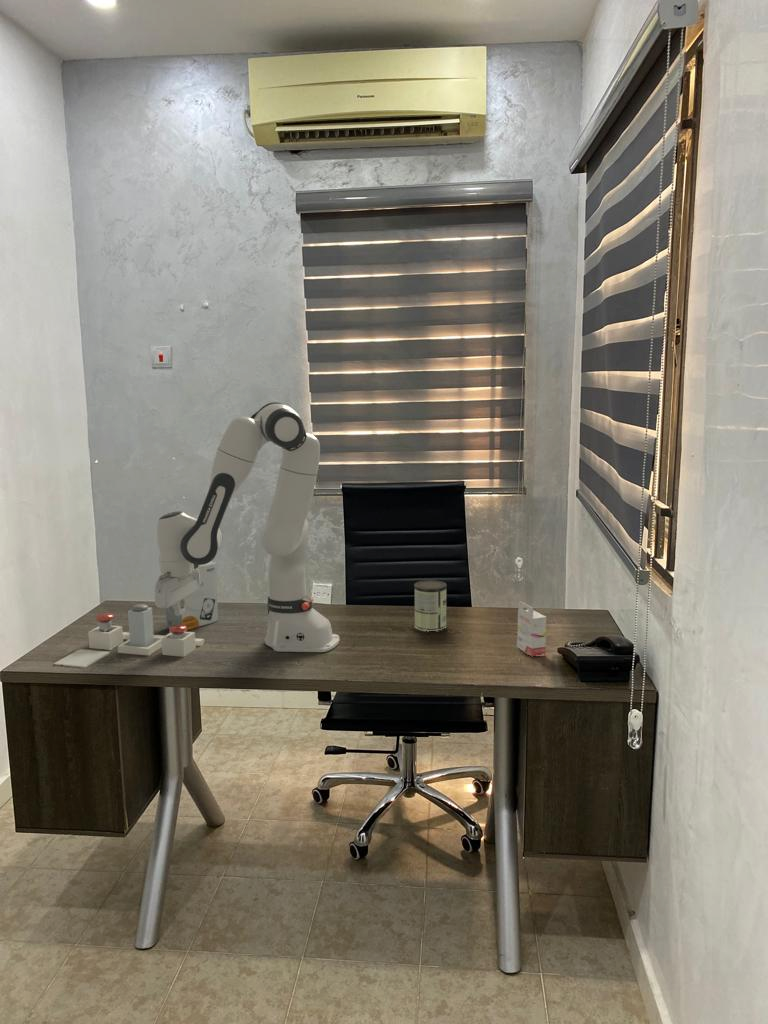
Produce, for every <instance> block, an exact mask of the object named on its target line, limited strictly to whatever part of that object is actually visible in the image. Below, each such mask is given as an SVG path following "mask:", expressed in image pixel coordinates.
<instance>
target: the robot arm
mask: <svg viewBox="0 0 768 1024" xmlns="http://www.w3.org/2000/svg"><path fill="white" fill-rule="evenodd" d="M269 442H272V443H273V444H274V445H276V446H278V447H280V448H281V451H282V453H281V454H282V455H281V461H280V465H279V469H278V470H279V471H278V474H277V480H276V483H275V484H276V486H275V489H274V494H273V497H272V500H271V503H270V507H269V510H268V513H267V517H266V519H265V520H266V521H265V524H264V527H263V530H262V533H261V534H262V535H261V537H260V539H261V540H260V541H261V546H262V548H263V549H264V551H265V552H266V554H268V555H270V560H269V567H268V570H267V571H268V572H267V575H268V576H267V577H268V596H267V614H268V624H267V631H266V635H265V639H264V643H265V645H267V646H268V647H269V648H272V649H273V651H274V652H282V653H283V652H287V653H289V652H293V653H295V652H296V653H326V652H329V651H331V650H333V649H335V648H336V647H337V646H338V645H339V643H340V636H339V634H335V633H333V629H332V626H331V622H330V620H329V619H328V618H326V617H325V616H324V615H322V614H321V613H320V612H319V611H317V610H316V609H314V608H313V602H314V597H311V598H310V597H309V596H308V595H307V587H306V586H307V584H306V577H307V576H306V575H307V574H306V567H307V557H308V545H309V544H308V543H309V542H308V541H309V530H310V528H309V527H310V526H309V522H308V519H307V516H308V513H309V509H310V506H311V504H312V501H313V496H314V492H315V487H316V482H317V477H318V471H319V466H320V460H321V459H320V458H321V457H320V456H321V444H320V441H319V439H318V438H317V437H316V436H315V435H314V434H312V433H309V432H307V431H306V428H305V426H304V422H303V420H302V418H301V416H300V415H299V413H298V412H297V411H295V409H293V408H291V407H290V406H289V405H287V404H283V403H281V402H274V401H273V402H269V403H266V404H265V405H263V406H261V408H260V409H258V410H257V411H256V412H255V413H254V414H252V416H250V417H248V416H237V417H235V418H234V419H232V420H231V422H230V423H229V425H228V426H227V428H226V429H225V432H224V434H223V435H222V437H221V440H220V442H219V444H218V446H217V450H216V452H215V456H214V458H213V459H214V460H213V464H212V467H211V468H212V469H211V474H210V480H209V486H208V490H207V494H206V497H205V499H204V501H203V504H202V506H201V509H200V512H199V515H198V517H197V518H196V517H193V516H190V515H188V514H187V513H186V512H184V511H181V510H179V511H172V512H169V513H166V514H164V515H162V516H161V517H159V519H158V520H157V524H156V541H157V547H158V549H159V558H158V560H159V572H160V573H159V574H160V575H159V576H158V579H157V581H156V583H155V586H154V603H155V604H154V605H155V607H156V608H158V609H166V608H169V607H170V606H172V607H173V609H174V611H175V615H176V616H180V615H182V614H183V613H185V605H186V601H187V599H186V597H188V596H189V595H191V594H193V593H195V592H196V591H198V590H199V588H200V572H199V569H198V568H199V567H200V565H203V564H207V563H209V562H210V561H211V562H213V560H214V558H216V555H217V553H218V550H219V549H220V546H221V545H222V542H223V532H222V530H221V527H220V526H221V524H222V521H223V518H224V516H225V513H226V511H227V508H228V506H229V504H230V502H231V500H233V497H234V496H235V494H236V493H237V492H238V491H239V490H240V489H241V487H242V486H243V485H244V483H246V481H247V479H248V477H249V475H250V474H251V473H252V470H253V467H254V466H255V463H256V461H257V458H258V454H259V452H260V450H261V449H262V448H263V446H264V445H266V444H267V443H269Z"/></svg>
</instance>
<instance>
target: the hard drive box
mask: <svg viewBox="0 0 768 1024" xmlns="http://www.w3.org/2000/svg"><path fill="white" fill-rule="evenodd" d="M217 566H218V565H217V562H216V561H215V562H214V561H210V562H209V563H207V564H203V565H200V567H199V568H198V569H199V572H200V588H199V590H198V591H196V592H195V593H193V594H191V595H189V596H188V597H186V599H187V601H186V605H185V613H183V614H182V615H180V616H176V615H175V611H174V609H173V607H172V606H170V607H169V608H165V612H166V613H165V615H166V628H167V629H169V627H170V626H172V625H177V624H183V625H186V626H187V630H186V631H190V630H191V631H192V630H193V629H195V628H200V627H202V626H205V625H210V624H212V623H215V622H219V613H218V612H219V609H218V607H219V605H218V603H219V602H218V574H217V573H218V571H217V570H218V567H217Z"/></svg>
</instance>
